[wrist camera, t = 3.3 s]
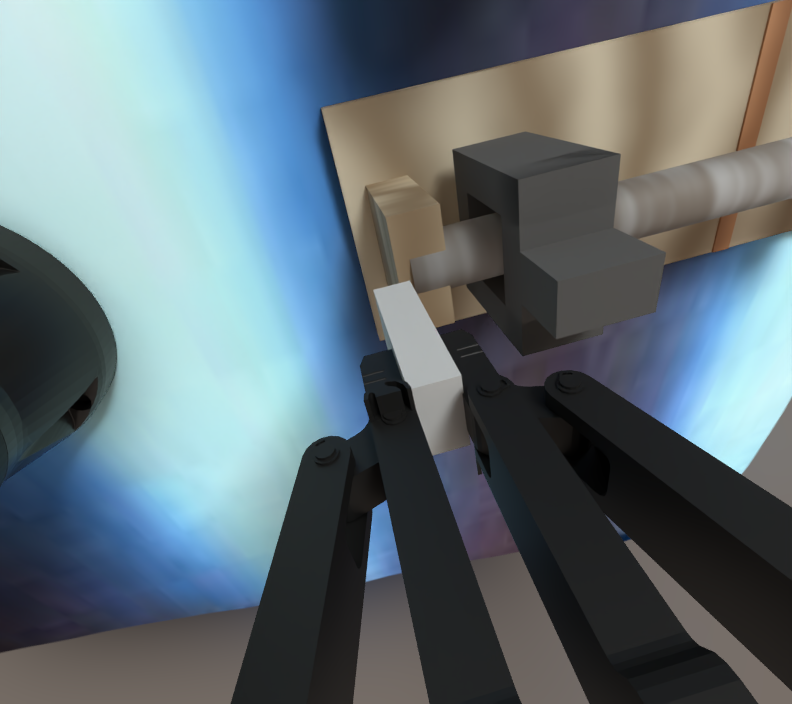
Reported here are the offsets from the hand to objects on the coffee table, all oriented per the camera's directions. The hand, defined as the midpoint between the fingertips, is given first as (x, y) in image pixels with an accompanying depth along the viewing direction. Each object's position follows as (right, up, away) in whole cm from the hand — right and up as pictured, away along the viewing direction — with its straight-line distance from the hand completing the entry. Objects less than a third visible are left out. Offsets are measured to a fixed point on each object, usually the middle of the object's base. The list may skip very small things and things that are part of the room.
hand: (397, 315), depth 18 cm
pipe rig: (+14, +10, +10) cm, 19 cm away
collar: (+6, +6, +7) cm, 11 cm away
